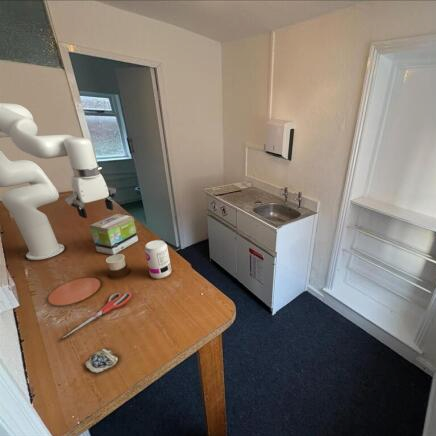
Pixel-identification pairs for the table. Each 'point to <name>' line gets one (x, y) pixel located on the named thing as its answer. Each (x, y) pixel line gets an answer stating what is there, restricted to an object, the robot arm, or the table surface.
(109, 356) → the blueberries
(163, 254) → the supplement can
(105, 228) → the tea box
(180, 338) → the table surface
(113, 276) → the cylinder
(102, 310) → the scissors
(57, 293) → the plate
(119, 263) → the cylinder
